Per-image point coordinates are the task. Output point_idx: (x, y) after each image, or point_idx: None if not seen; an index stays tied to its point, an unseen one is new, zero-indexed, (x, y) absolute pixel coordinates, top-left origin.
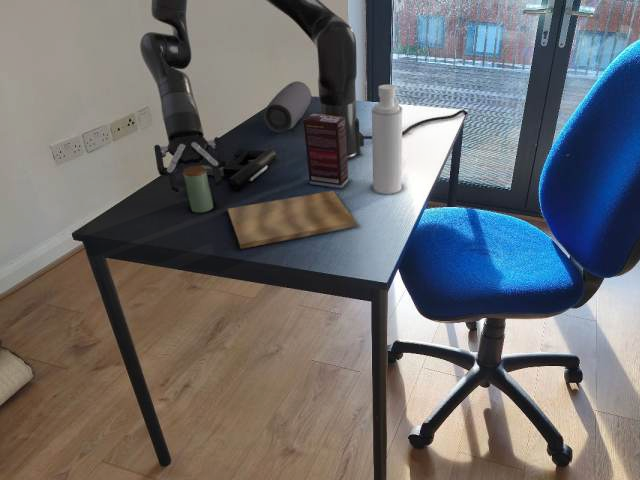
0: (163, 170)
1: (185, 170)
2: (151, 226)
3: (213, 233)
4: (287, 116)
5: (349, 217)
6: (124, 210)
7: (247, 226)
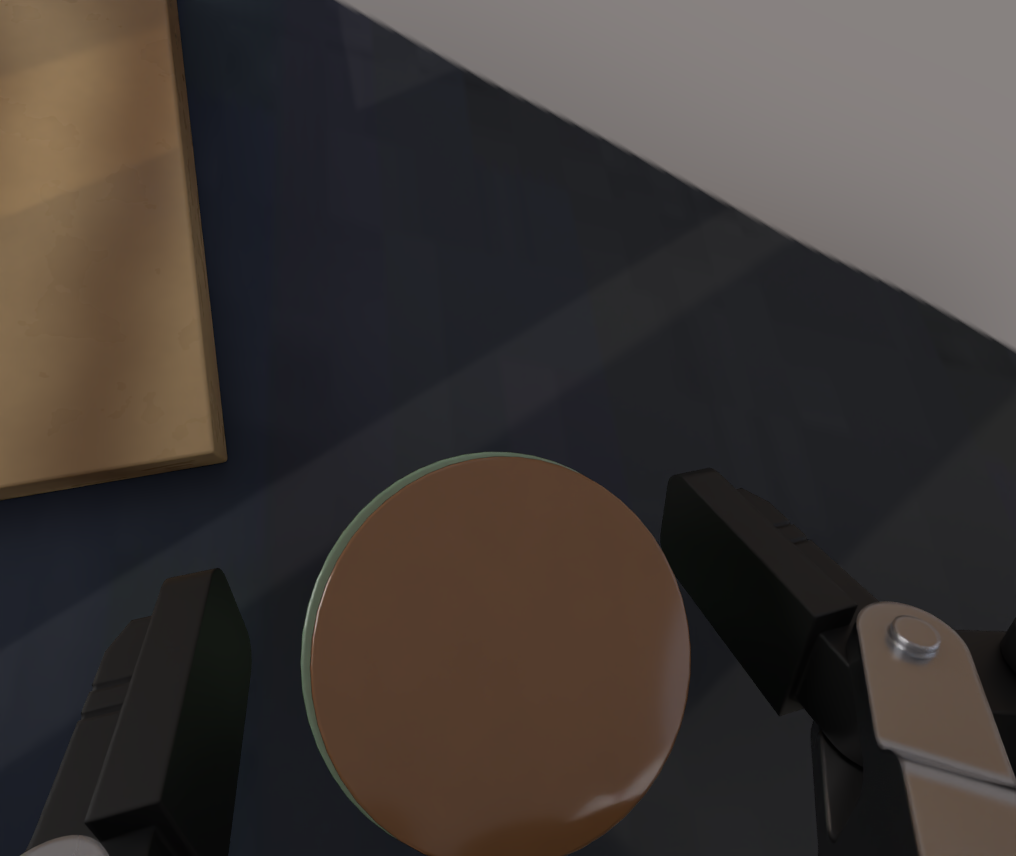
0: (1000, 656)
1: (660, 636)
2: (751, 381)
3: (346, 203)
4: None
5: None
6: None
7: (74, 133)
